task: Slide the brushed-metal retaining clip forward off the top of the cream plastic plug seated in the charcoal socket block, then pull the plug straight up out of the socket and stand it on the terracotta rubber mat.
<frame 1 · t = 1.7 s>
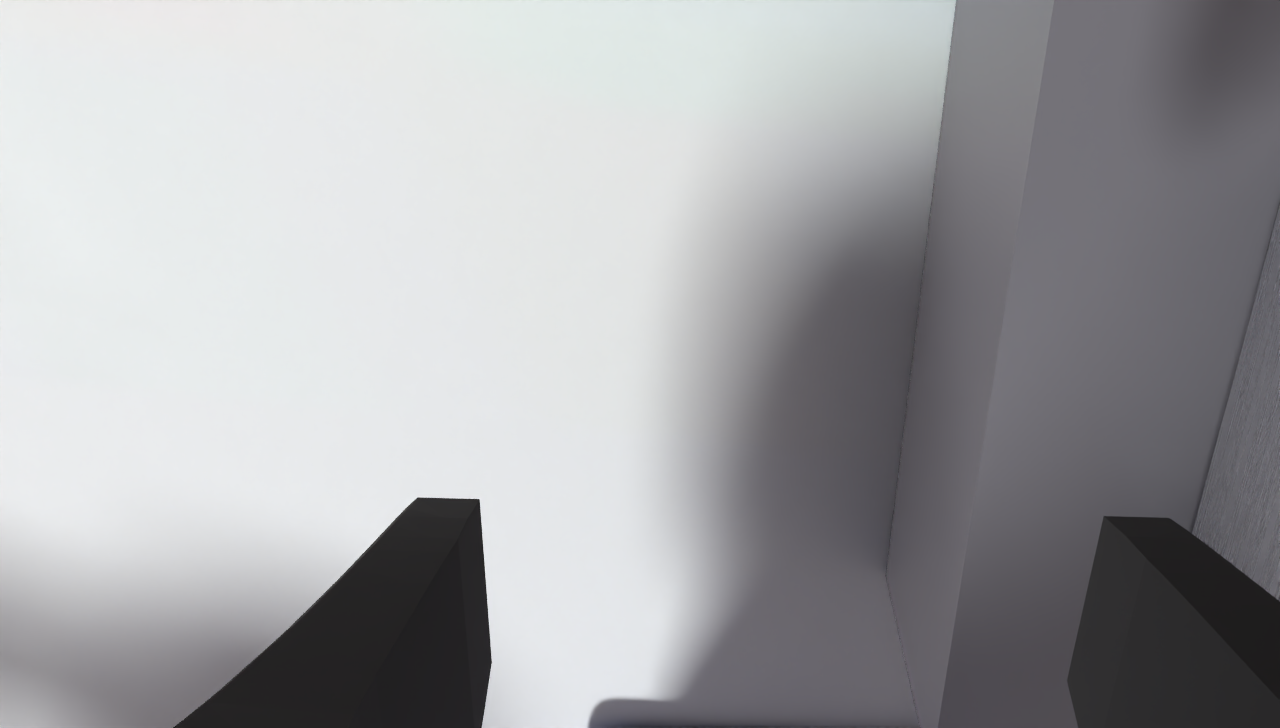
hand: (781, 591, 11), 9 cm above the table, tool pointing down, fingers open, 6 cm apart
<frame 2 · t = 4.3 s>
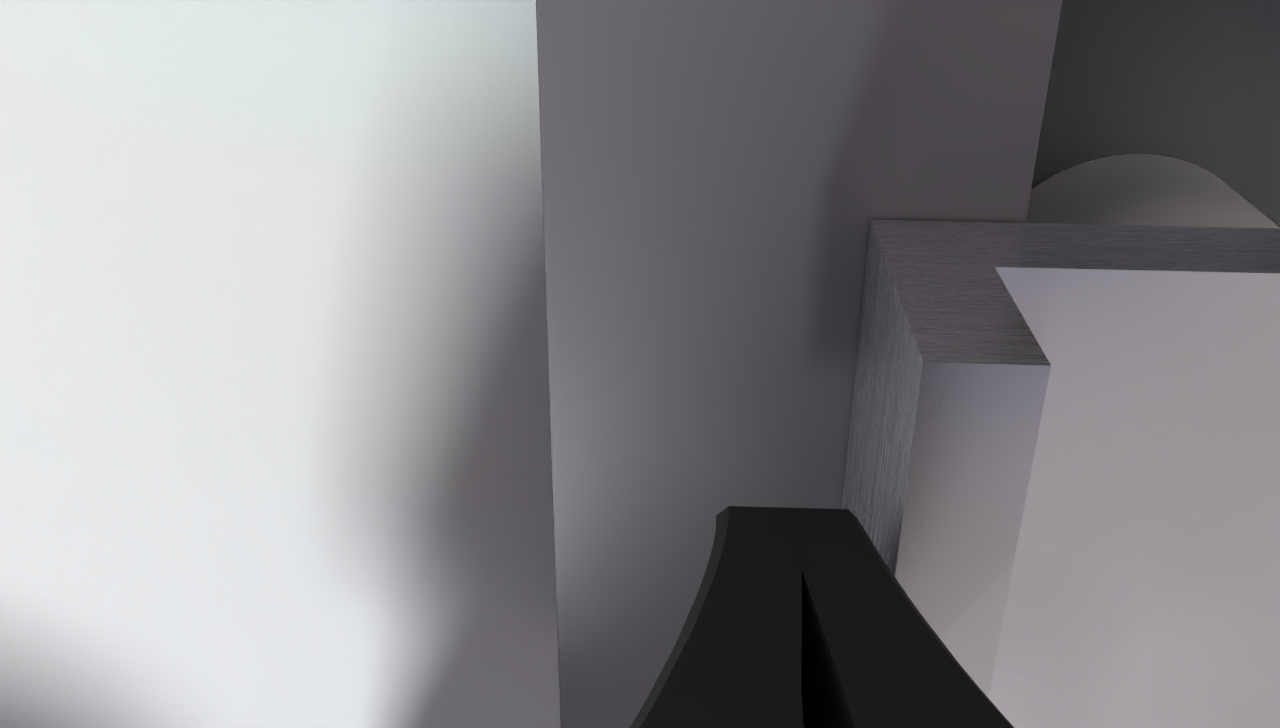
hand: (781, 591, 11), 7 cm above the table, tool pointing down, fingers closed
socket block: (1113, 295, 18), on the table
plug: (1165, 362, 16), in the socket block
clip: (1258, 561, 12), point 7 cm above the table, slide at 0.4 cm, touching gripper
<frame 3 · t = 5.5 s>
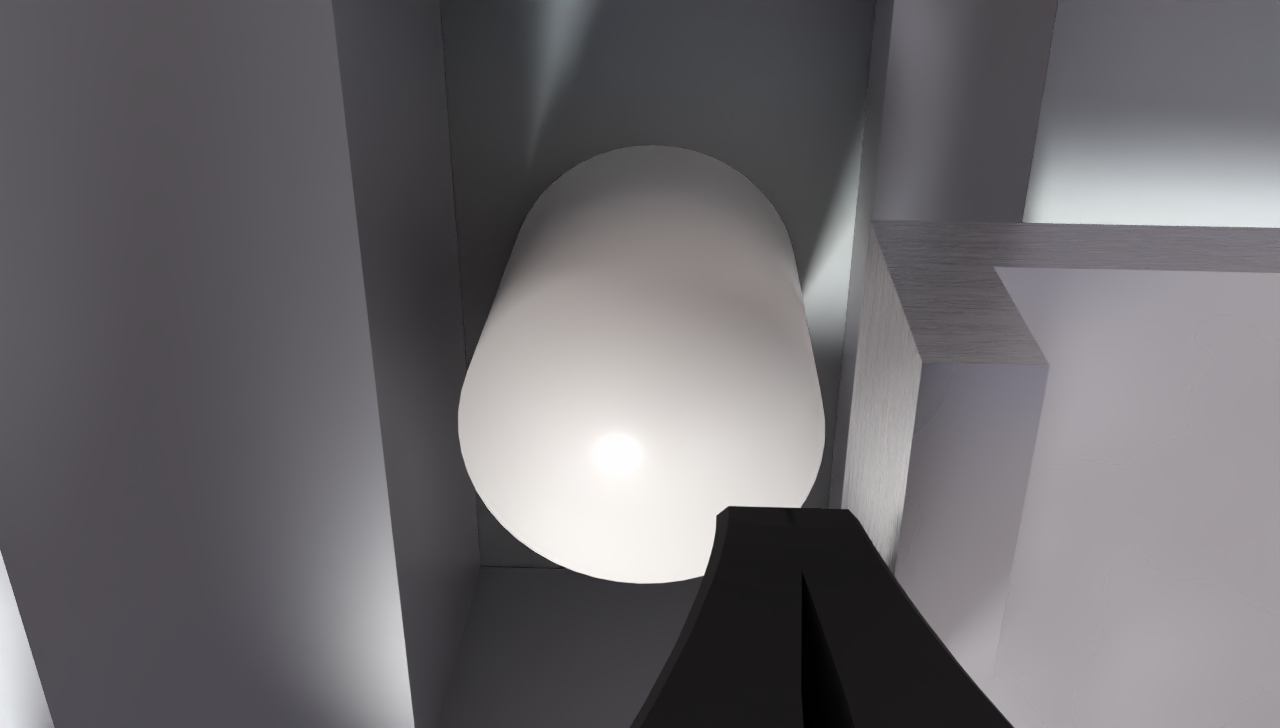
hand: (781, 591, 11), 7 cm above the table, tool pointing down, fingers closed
socket block: (653, 284, 18), on the table
plug: (647, 350, 16), in the socket block
clip: (1257, 560, 12), point 7 cm above the table, slide at 7.4 cm, touching gripper
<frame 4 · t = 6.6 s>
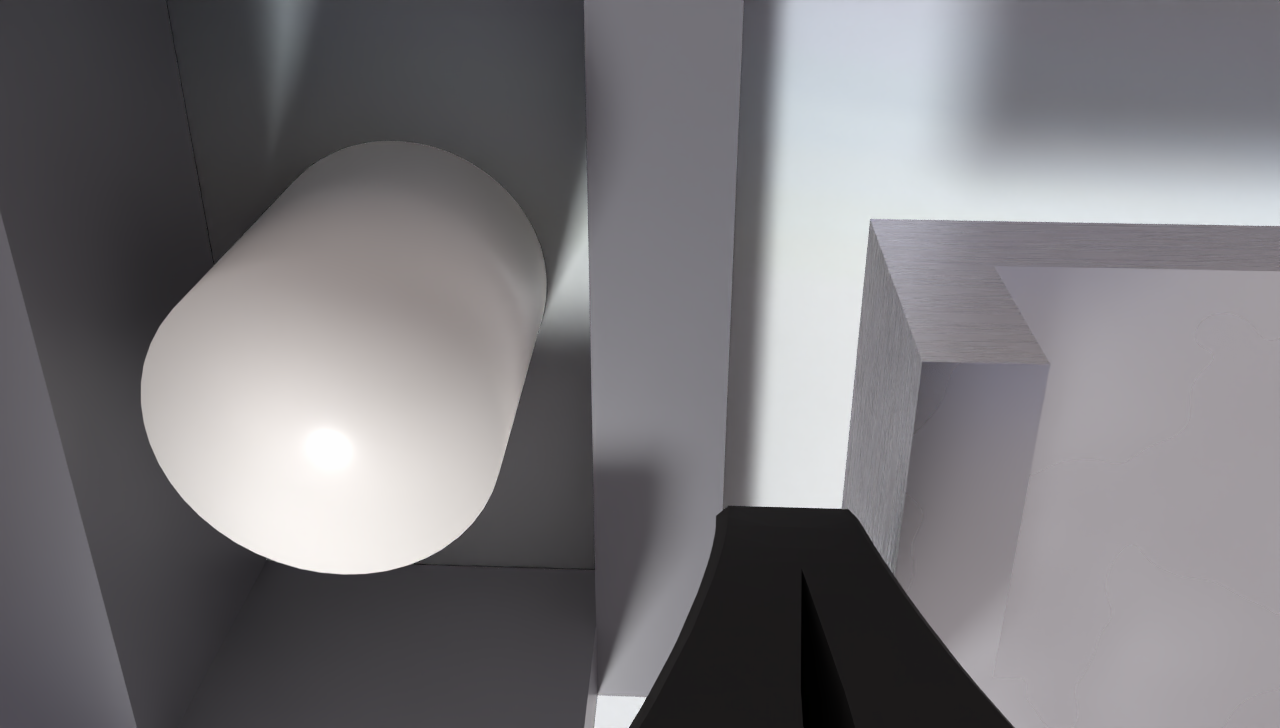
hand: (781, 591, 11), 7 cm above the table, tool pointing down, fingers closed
socket block: (405, 279, 18), on the table
plug: (369, 343, 16), in the socket block
clip: (1258, 559, 12), point 7 cm above the table, slide at 11.3 cm, touching gripper
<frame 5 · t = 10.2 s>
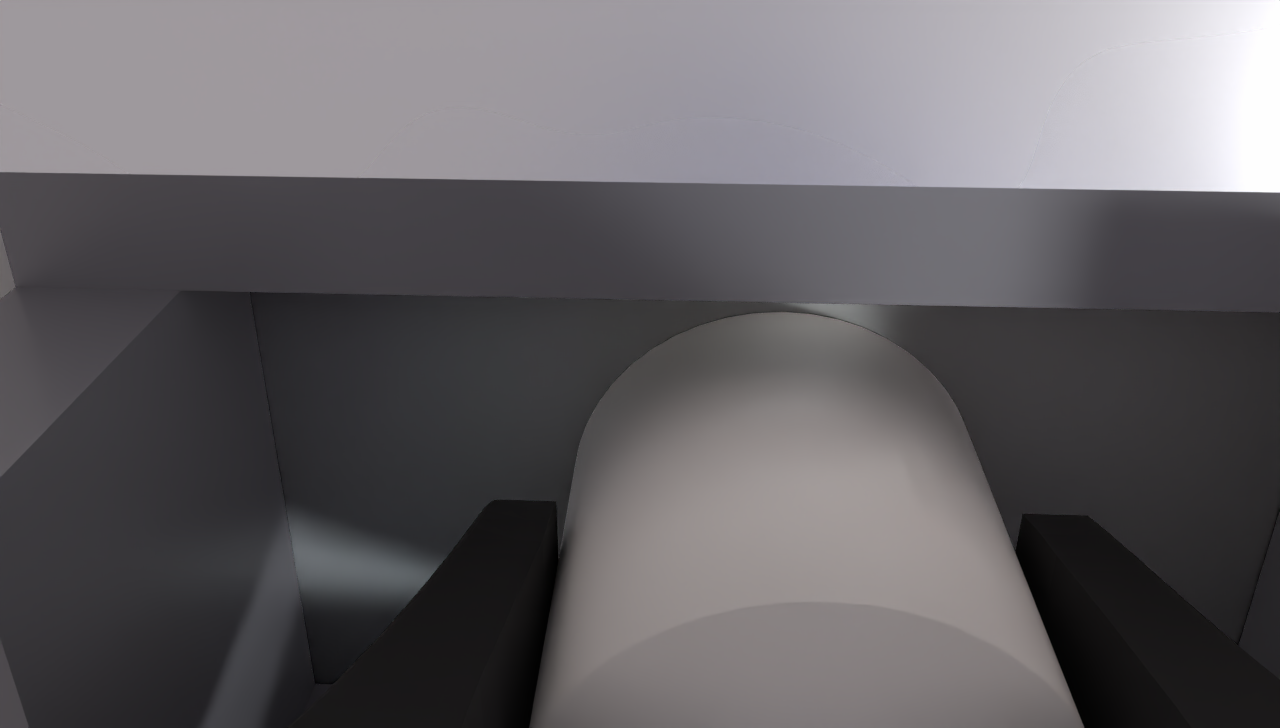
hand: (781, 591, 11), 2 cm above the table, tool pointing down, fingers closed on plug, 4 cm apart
socket block: (772, 493, 13), on the table
plug: (785, 630, 11), in the socket block, touching gripper
when the fingers open (4 cm above the table, at t = 14.4 s): plug drops 2 cm, resting on mat.
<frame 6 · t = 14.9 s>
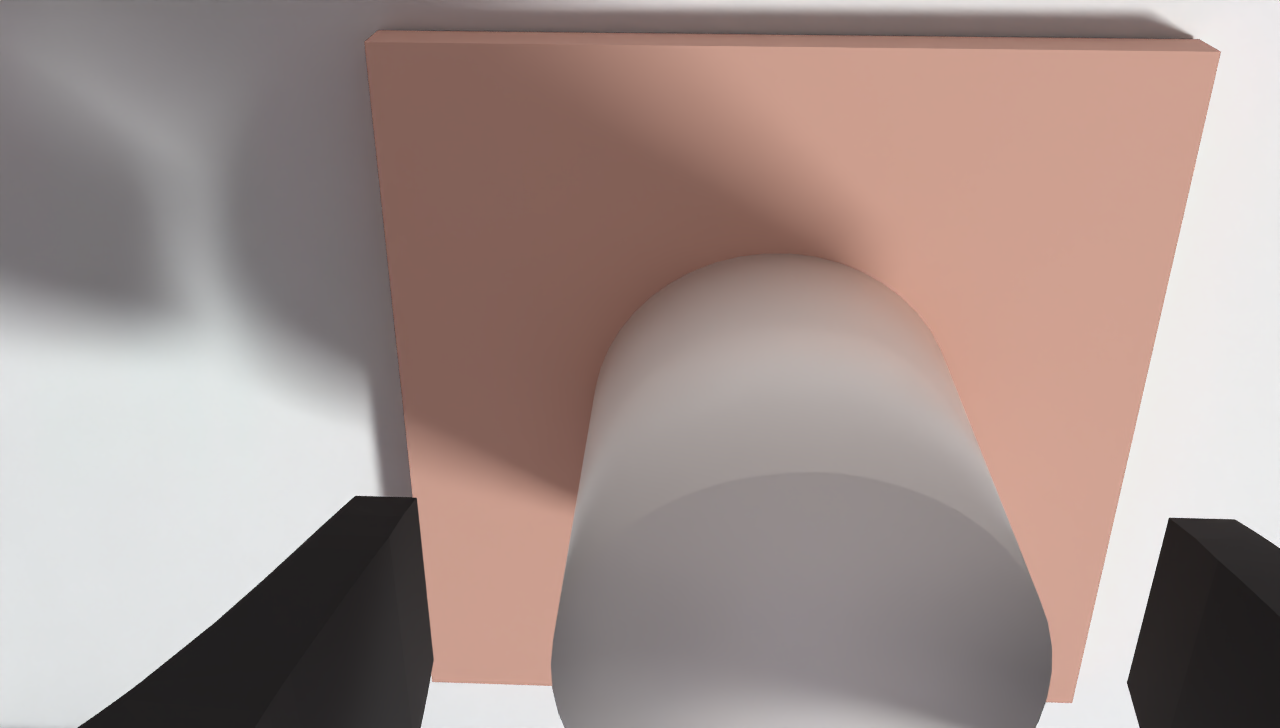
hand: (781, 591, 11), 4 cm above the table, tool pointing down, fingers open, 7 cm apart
plug: (782, 528, 12), on the mat, point 3 cm above the table
mat: (762, 392, 15), on the table
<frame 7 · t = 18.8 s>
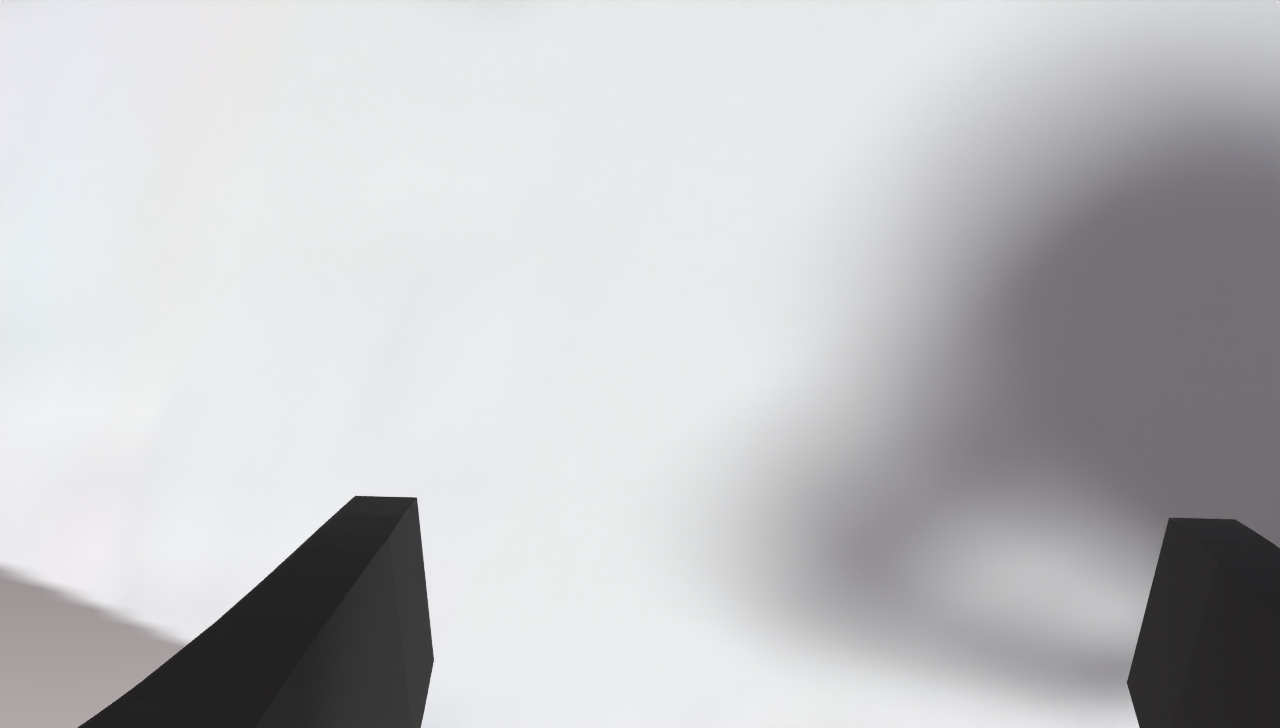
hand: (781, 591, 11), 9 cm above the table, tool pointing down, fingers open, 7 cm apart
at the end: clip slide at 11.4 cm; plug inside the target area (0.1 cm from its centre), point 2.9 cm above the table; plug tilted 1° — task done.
